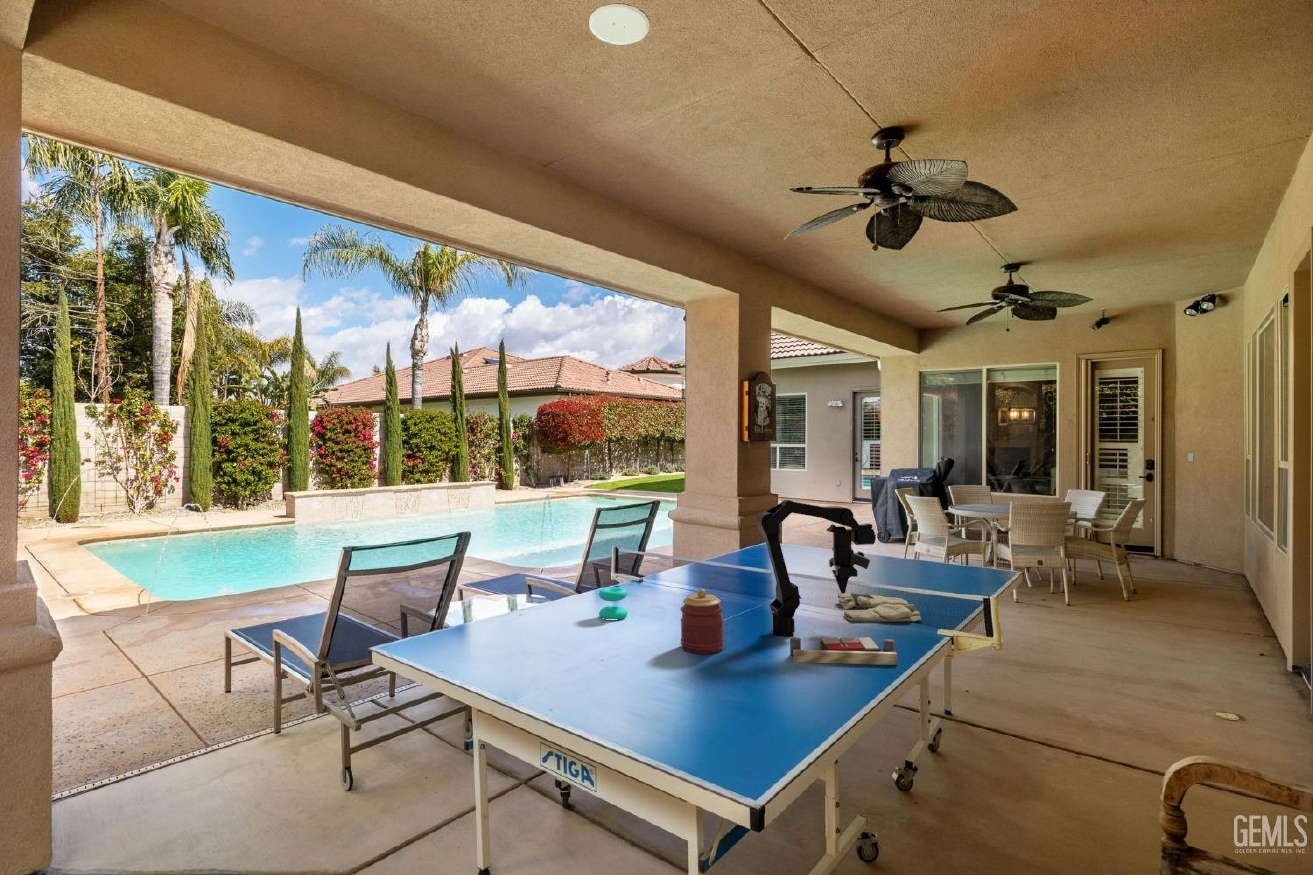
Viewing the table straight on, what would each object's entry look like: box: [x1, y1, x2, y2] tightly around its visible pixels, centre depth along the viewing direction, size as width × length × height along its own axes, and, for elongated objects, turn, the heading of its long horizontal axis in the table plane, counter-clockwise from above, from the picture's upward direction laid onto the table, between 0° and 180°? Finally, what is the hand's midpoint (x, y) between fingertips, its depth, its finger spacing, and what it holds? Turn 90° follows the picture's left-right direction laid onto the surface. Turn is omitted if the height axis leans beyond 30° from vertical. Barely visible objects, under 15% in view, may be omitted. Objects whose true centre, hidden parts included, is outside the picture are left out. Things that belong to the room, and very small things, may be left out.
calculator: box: [819, 636, 882, 652], centre depth 189 cm, size 11×4×15 cm
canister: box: [679, 588, 725, 655], centre depth 197 cm, size 13×13×18 cm
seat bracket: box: [789, 636, 898, 666], centre depth 185 cm, size 29×7×5 cm, turn 83°
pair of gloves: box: [837, 592, 922, 623], centre depth 236 cm, size 30×26×5 cm
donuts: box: [598, 586, 628, 620], centre depth 233 cm, size 10×10×10 cm
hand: (842, 593), depth 214 cm, fingers closed
